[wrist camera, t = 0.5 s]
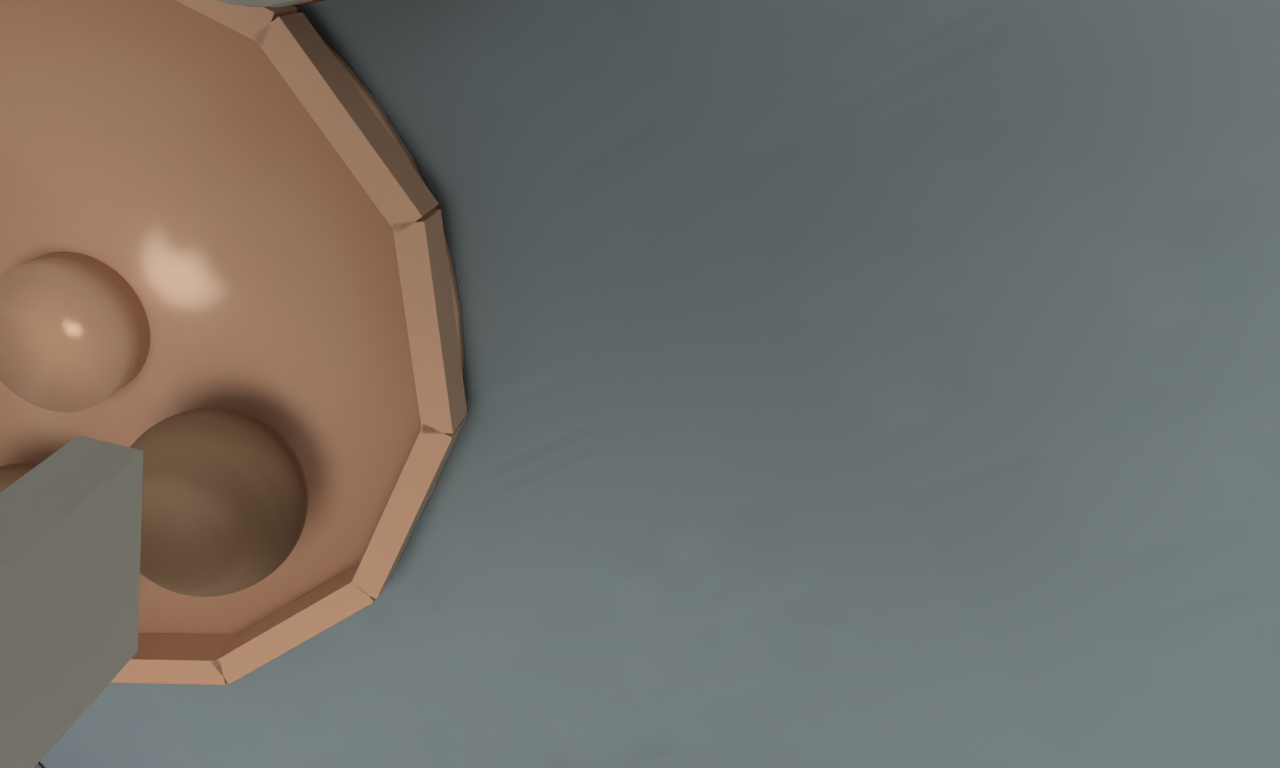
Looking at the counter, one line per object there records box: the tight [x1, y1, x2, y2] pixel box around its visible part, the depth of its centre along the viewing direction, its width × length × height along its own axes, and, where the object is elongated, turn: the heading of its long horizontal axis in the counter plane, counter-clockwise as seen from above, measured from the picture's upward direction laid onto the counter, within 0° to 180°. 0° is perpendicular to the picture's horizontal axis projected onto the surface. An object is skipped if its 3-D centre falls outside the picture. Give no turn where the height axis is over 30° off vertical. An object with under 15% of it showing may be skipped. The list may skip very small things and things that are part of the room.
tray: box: [0, 0, 467, 685], centre depth 40 cm, size 26×26×2 cm
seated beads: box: [0, 408, 308, 597], centre depth 38 cm, size 18×18×6 cm
